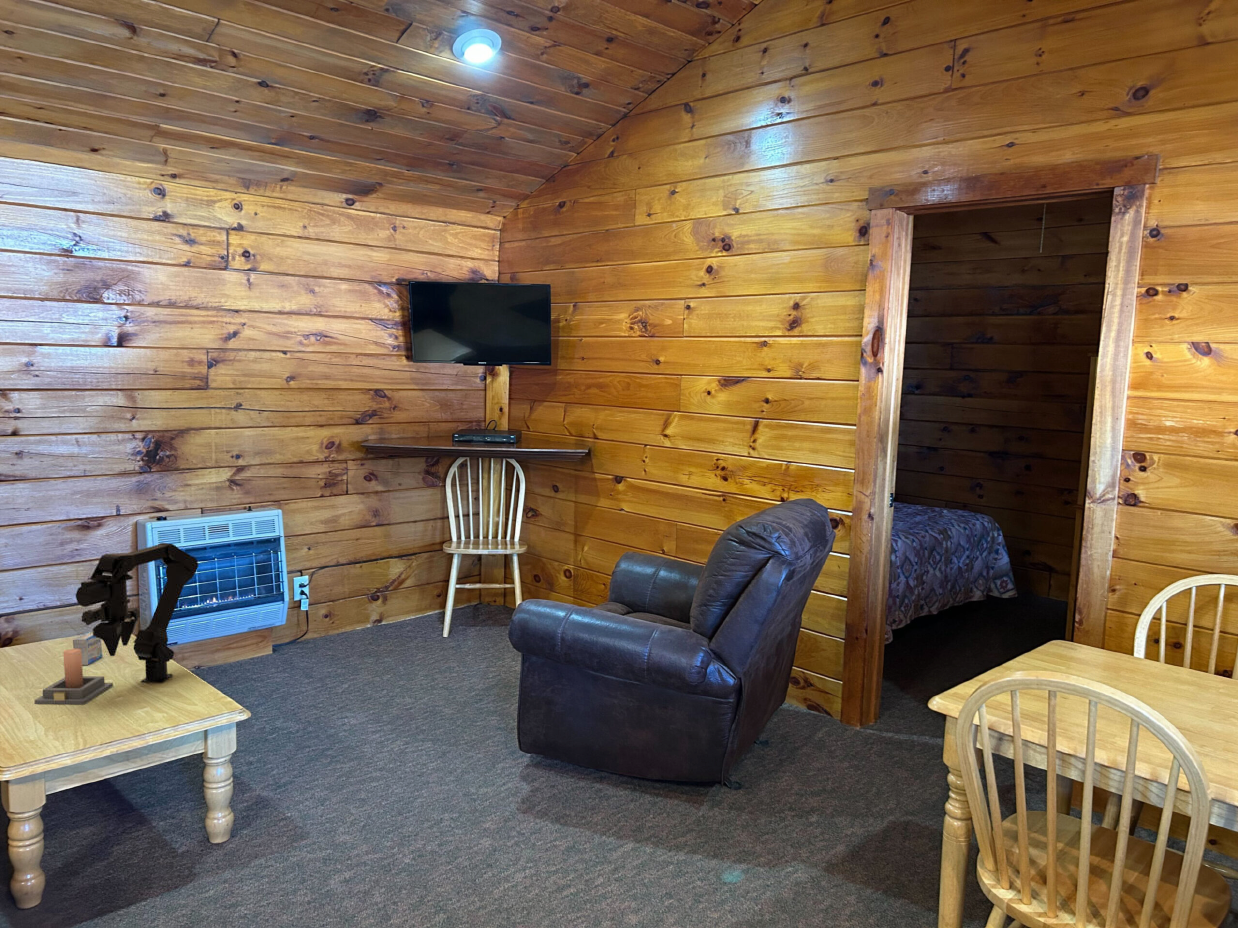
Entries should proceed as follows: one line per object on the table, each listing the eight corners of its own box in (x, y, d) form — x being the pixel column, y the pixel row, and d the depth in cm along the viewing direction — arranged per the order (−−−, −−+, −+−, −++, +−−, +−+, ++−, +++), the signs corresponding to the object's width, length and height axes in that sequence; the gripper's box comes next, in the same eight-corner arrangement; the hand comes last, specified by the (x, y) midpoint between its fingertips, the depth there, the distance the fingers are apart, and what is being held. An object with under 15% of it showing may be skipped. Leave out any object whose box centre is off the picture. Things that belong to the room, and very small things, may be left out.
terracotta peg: (72, 688, 258) (69, 648, 257) (87, 688, 258) (84, 648, 257) (62, 693, 254) (59, 653, 253) (77, 694, 254) (75, 653, 252)
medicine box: (87, 665, 280) (86, 639, 279) (74, 665, 280) (72, 638, 279) (102, 657, 288) (101, 631, 287) (89, 657, 288) (87, 631, 287)
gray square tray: (65, 685, 263) (65, 674, 263) (112, 685, 263) (112, 674, 263) (34, 703, 249) (33, 691, 249) (84, 704, 249) (83, 692, 249)
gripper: (98, 590, 261) (101, 641, 263) (70, 607, 243) (74, 662, 245) (139, 589, 263) (142, 639, 265) (114, 606, 245) (117, 660, 247)
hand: (118, 650), depth 255 cm, fingers open, 9 cm apart
